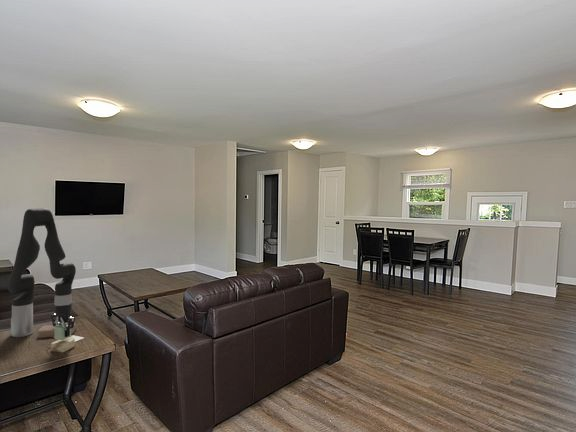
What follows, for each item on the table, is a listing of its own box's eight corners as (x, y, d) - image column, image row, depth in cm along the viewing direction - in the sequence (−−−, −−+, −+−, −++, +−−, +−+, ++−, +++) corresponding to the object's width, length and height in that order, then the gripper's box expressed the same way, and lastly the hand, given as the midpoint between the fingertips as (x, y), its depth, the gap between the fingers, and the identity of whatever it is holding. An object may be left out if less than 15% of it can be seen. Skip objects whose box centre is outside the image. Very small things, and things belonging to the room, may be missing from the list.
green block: (54, 338, 168) (54, 326, 168) (63, 335, 173) (64, 323, 172) (61, 340, 166) (61, 328, 166) (71, 336, 171) (71, 325, 171)
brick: (36, 338, 181) (37, 330, 181) (42, 332, 189) (42, 324, 189) (72, 335, 186) (72, 327, 186) (76, 330, 194) (76, 322, 194)
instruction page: (56, 341, 177) (56, 340, 177) (72, 335, 186) (72, 334, 186) (69, 344, 175) (69, 343, 175) (84, 338, 183) (84, 337, 183)
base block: (51, 351, 167) (51, 343, 167) (62, 345, 174) (62, 337, 174) (63, 352, 166) (63, 344, 166) (74, 346, 173) (74, 339, 173)
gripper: (45, 303, 168) (45, 336, 168) (66, 306, 163) (66, 340, 164) (60, 299, 175) (59, 331, 175) (80, 302, 170) (80, 335, 171)
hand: (63, 335), depth 170 cm, fingers closed on green block, 5 cm apart
